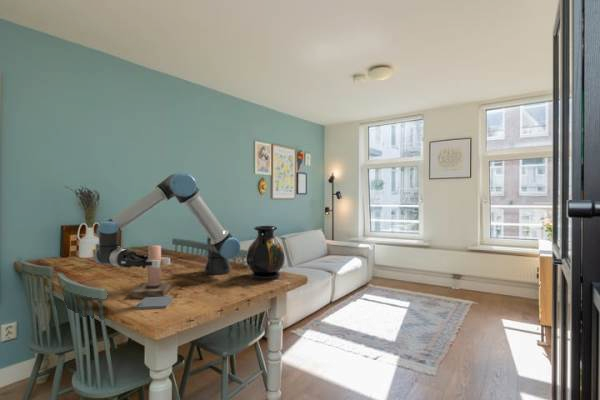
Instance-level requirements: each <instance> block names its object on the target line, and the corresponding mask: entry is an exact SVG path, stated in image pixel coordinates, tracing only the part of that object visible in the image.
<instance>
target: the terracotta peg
mask: <svg viewBox="0 0 600 400" xmlns="http://www.w3.org/2000/svg"><path fill="white" fill-rule="evenodd" d="M147 254H148V259H149V260H158V261H160V267H159V268H156V267H148V266H147V283H148V286H157V285H160V284H161V282H162V264H161V256H162V245H158V244H157V245H148V246H147Z"/></svg>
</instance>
